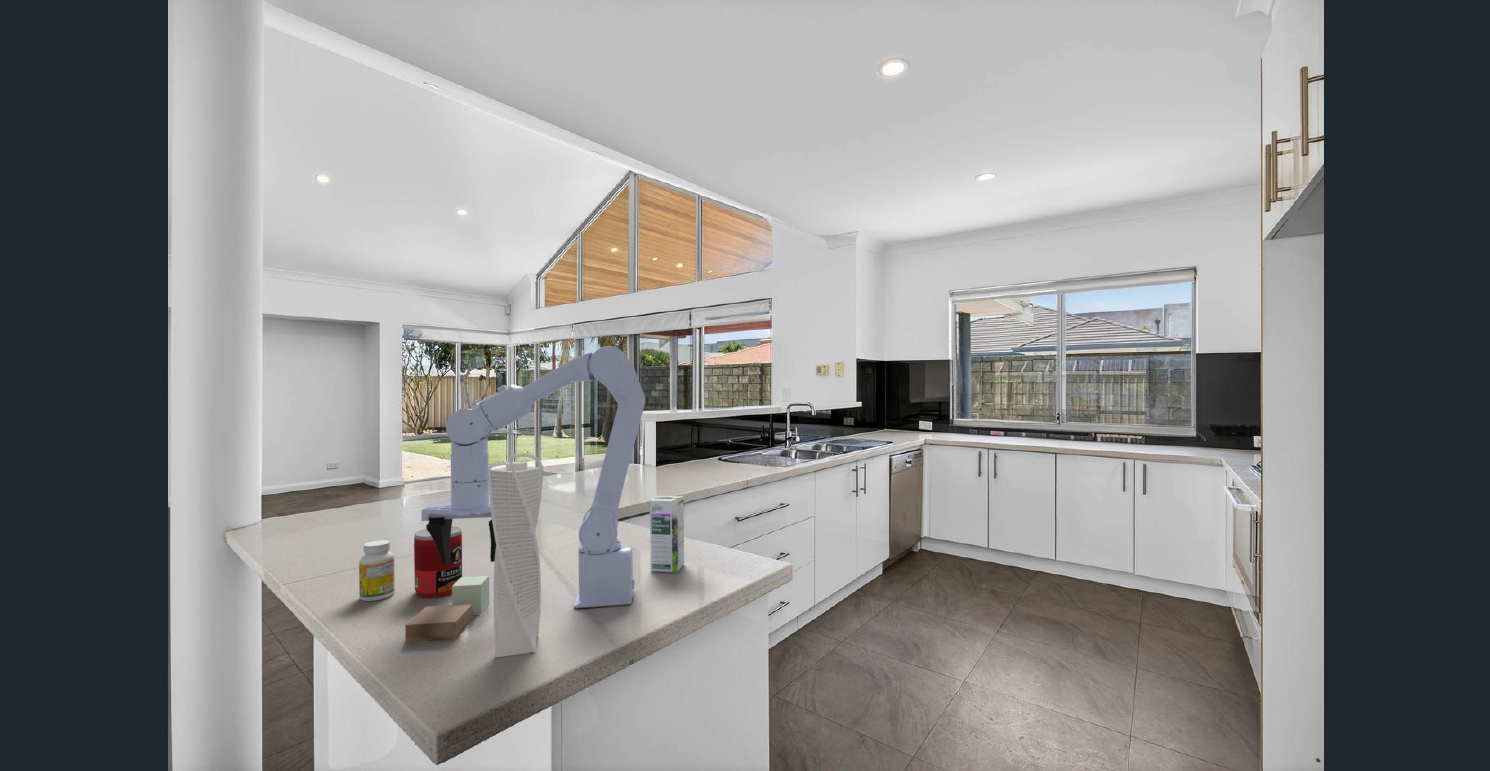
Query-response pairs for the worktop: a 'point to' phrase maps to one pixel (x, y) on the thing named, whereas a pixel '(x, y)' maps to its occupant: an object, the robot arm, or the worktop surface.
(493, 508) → the skyscraper
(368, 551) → the supplement bottle
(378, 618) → the worktop surface
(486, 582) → the sage block
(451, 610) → the walnut block
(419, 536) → the canned food
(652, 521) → the syrup box
